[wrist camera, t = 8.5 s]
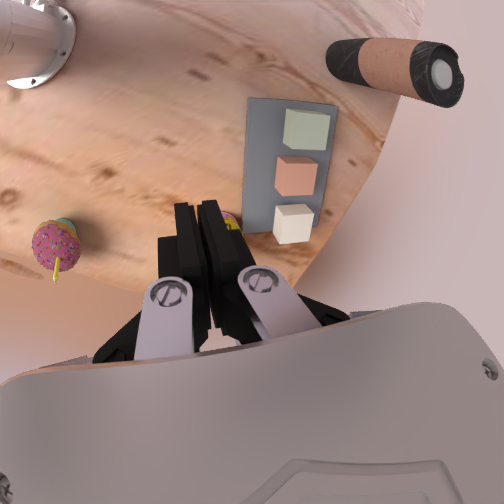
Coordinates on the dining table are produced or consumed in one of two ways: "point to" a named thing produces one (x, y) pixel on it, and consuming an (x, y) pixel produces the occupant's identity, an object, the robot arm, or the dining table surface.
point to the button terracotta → (295, 175)
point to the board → (265, 162)
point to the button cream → (292, 223)
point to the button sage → (306, 129)
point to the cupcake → (56, 245)
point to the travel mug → (399, 67)
